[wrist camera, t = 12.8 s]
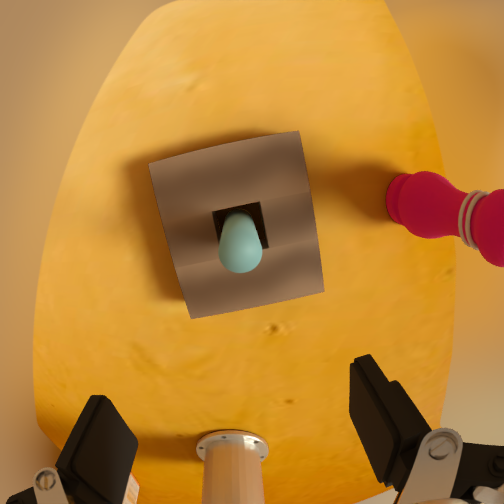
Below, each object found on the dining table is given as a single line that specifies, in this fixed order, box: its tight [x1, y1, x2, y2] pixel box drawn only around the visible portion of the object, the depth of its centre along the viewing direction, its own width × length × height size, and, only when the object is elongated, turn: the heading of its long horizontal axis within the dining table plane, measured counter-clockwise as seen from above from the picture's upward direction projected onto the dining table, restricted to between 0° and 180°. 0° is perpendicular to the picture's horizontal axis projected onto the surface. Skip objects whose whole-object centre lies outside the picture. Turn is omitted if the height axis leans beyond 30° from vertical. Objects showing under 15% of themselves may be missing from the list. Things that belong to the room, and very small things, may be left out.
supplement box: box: [122, 472, 140, 504], centre depth 39 cm, size 8×5×13 cm, turn 178°
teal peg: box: [218, 208, 262, 273], centre depth 25 cm, size 3×3×11 cm
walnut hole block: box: [148, 131, 324, 319], centre depth 28 cm, size 16×14×4 cm
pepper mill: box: [386, 171, 504, 267], centre depth 21 cm, size 7×7×20 cm
